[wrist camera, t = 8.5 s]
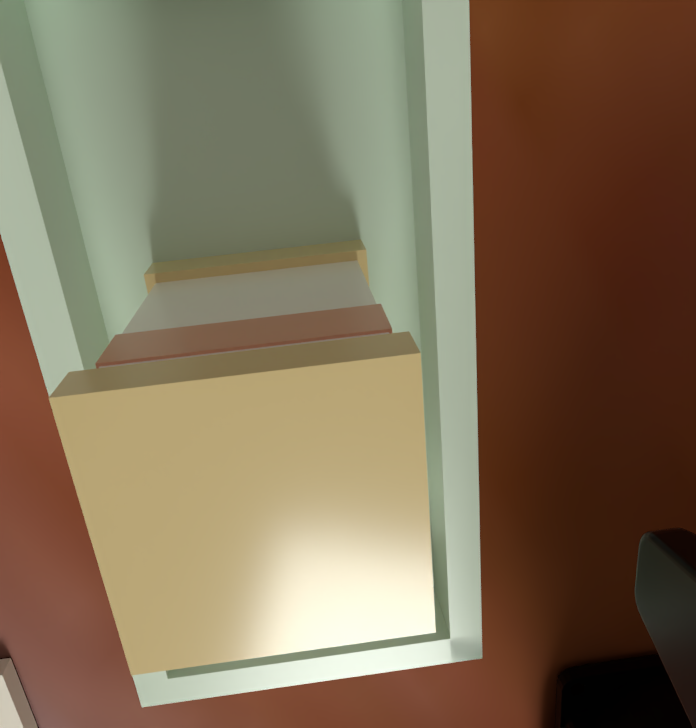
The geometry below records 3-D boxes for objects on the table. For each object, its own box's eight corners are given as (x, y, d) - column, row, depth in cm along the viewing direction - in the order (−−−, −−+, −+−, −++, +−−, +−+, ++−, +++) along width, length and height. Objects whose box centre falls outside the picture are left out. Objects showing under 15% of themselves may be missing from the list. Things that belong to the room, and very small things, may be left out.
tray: (433, -90, 13) (466, -131, 10) (458, 589, 19) (482, 658, 17) (-23, -49, 12) (-94, -81, 10) (159, 631, 19) (141, 707, 16)
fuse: (360, 239, 14) (420, 352, 8) (376, 422, 16) (435, 632, 10) (152, 263, 14) (48, 397, 8) (191, 445, 16) (131, 675, 10)
